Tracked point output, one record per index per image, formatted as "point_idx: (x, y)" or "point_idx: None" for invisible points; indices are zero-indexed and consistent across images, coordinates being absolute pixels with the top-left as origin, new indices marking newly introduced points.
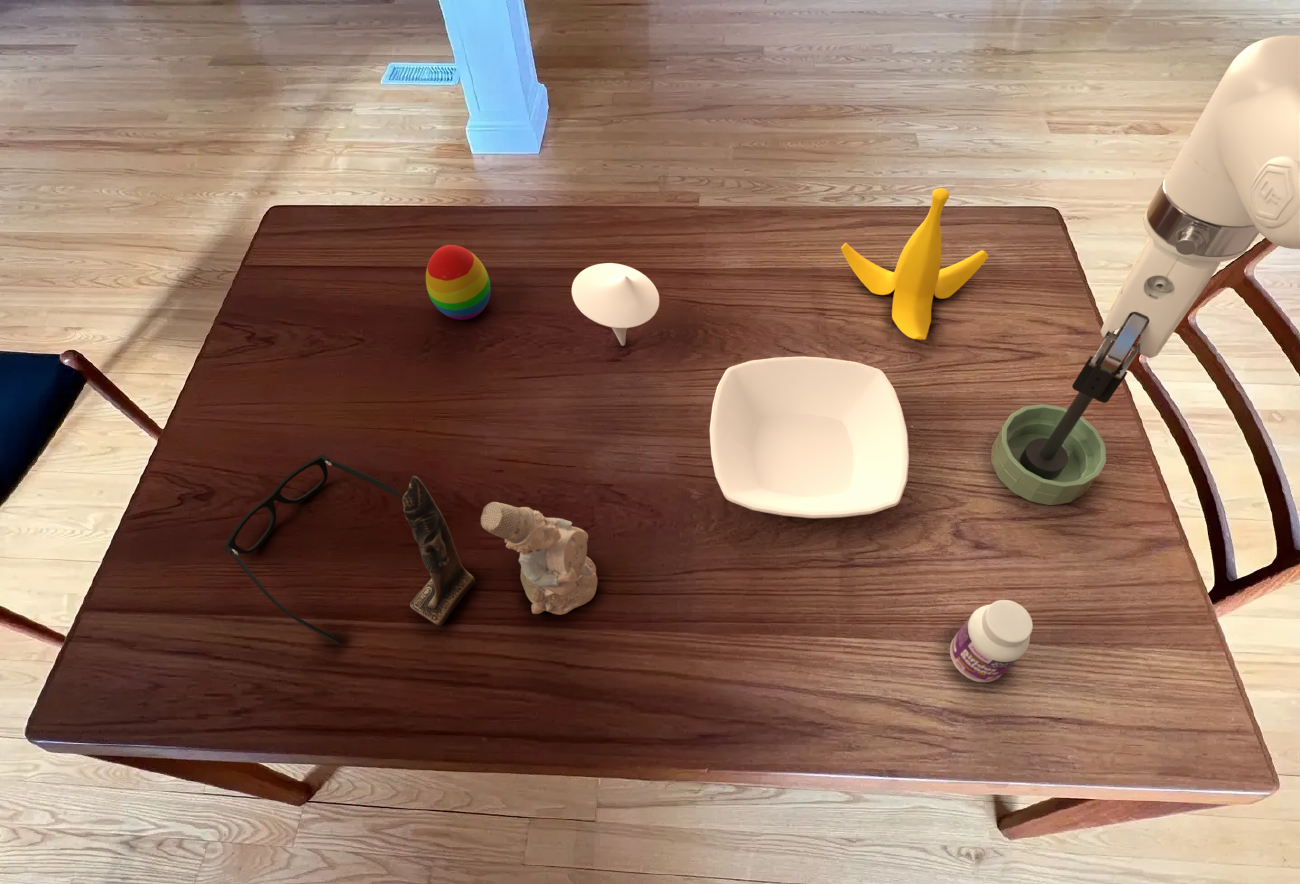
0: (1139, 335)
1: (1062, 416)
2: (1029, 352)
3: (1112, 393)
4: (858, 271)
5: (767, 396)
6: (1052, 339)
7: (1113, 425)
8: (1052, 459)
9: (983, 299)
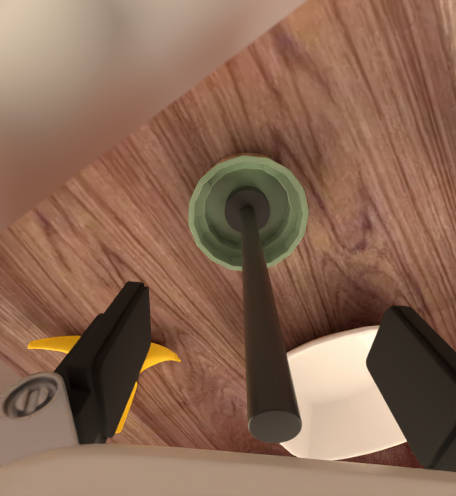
0: (148, 292)
1: (195, 218)
2: (109, 258)
3: (433, 332)
4: (127, 405)
5: (301, 417)
6: (76, 244)
7: (146, 151)
8: (251, 205)
9: (76, 312)
